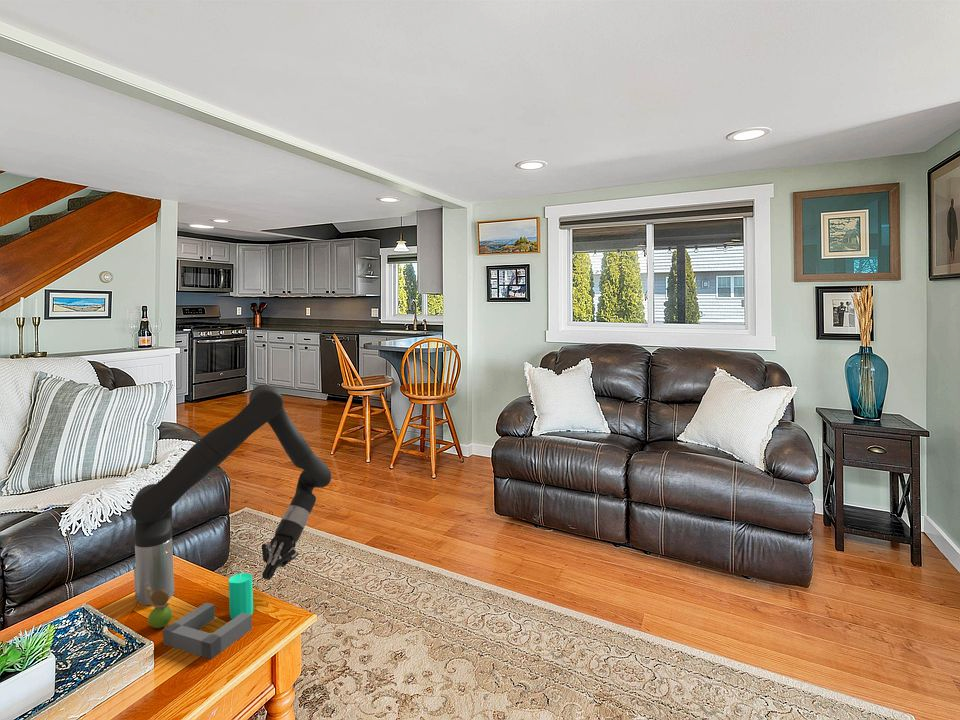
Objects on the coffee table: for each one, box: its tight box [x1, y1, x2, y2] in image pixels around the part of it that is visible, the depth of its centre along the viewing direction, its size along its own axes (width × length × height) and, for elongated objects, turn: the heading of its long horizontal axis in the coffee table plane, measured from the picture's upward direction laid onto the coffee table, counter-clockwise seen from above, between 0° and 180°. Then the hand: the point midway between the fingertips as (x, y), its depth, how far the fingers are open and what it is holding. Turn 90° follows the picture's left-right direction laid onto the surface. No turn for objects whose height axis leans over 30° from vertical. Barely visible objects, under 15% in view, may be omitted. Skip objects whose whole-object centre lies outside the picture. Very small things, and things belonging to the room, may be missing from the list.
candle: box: [228, 572, 254, 620], centre depth 143 cm, size 6×6×12 cm
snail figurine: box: [144, 582, 173, 629], centre depth 137 cm, size 5×6×12 cm
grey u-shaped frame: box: [162, 602, 253, 660], centre depth 133 cm, size 16×13×4 cm
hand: (265, 578), depth 152 cm, fingers closed
